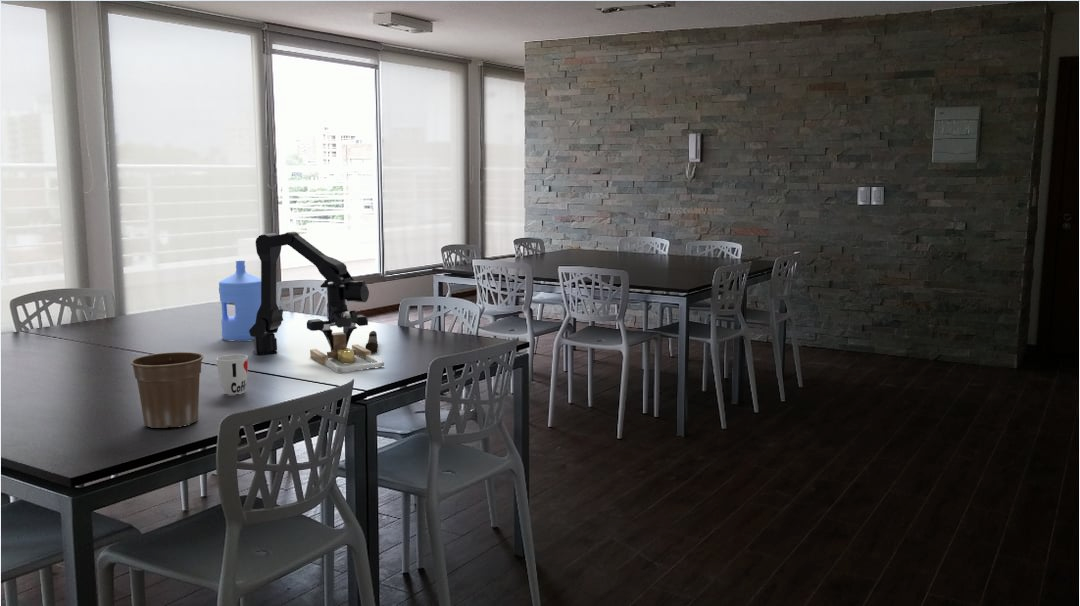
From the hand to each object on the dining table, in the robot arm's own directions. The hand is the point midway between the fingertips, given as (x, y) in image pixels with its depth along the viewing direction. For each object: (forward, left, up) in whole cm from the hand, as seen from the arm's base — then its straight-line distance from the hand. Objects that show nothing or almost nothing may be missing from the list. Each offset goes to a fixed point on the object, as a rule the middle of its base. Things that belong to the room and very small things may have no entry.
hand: (338, 348), depth 291 cm
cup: (-39, -30, -3) cm, 50 cm away
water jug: (-19, +51, -3) cm, 54 cm away
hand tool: (+14, +9, -3) cm, 17 cm away
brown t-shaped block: (0, 0, -2) cm, 2 cm away
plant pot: (-58, -52, -3) cm, 78 cm away
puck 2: (0, -9, -3) cm, 10 cm away
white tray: (0, -16, -3) cm, 16 cm away
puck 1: (0, -5, -3) cm, 6 cm away
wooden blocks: (0, -2, -3) cm, 3 cm away
